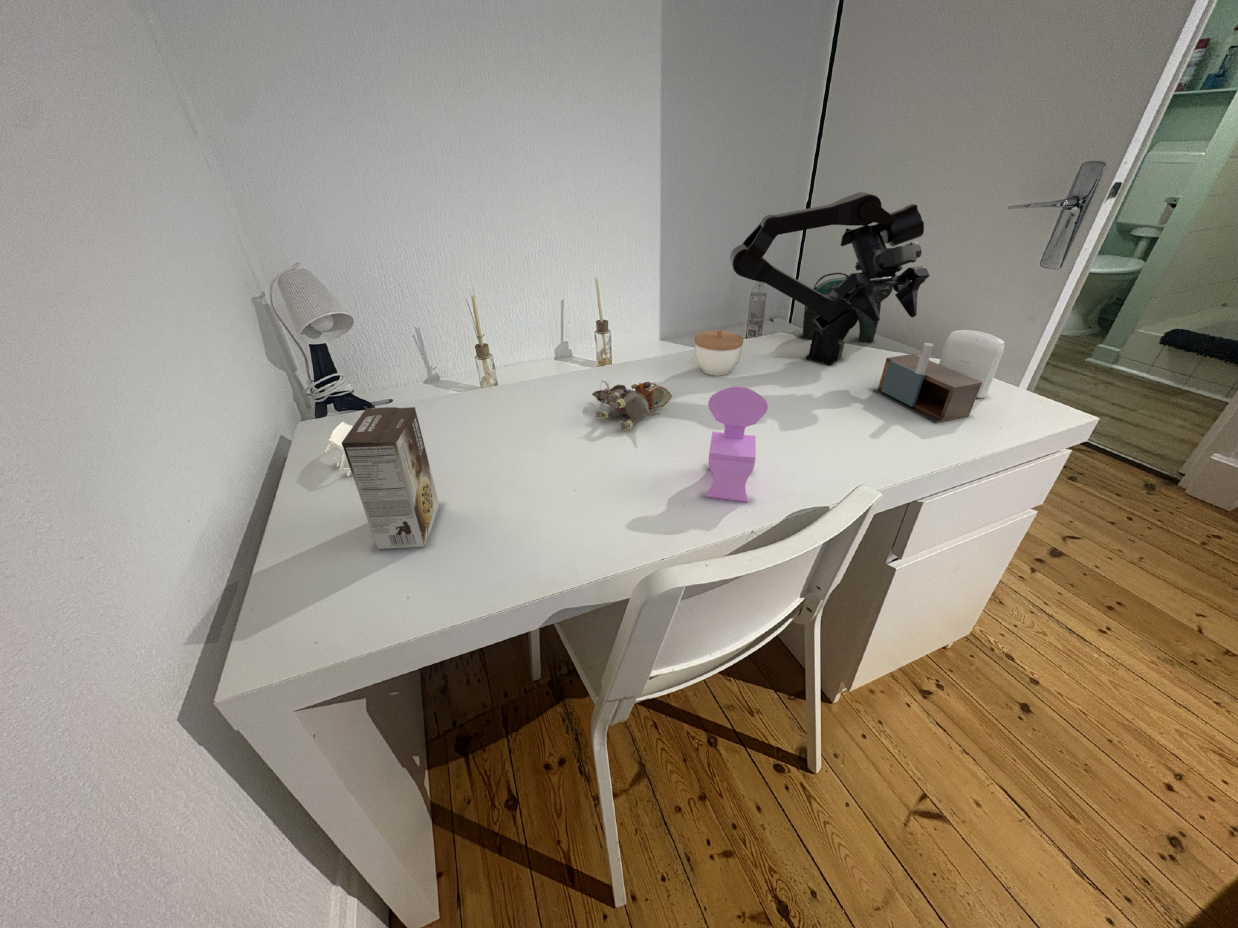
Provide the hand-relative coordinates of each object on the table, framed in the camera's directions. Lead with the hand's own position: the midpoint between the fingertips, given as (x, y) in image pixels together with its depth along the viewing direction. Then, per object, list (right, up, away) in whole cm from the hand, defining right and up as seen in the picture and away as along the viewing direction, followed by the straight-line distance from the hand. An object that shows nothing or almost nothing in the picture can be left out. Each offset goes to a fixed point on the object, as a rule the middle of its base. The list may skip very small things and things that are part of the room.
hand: (896, 319), depth 106 cm
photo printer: (+14, -15, +2) cm, 20 cm away
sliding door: (-1, -17, -3) cm, 17 cm away
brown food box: (-86, -39, -36) cm, 101 cm away
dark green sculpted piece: (+1, +3, +31) cm, 31 cm away
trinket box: (-35, -9, +12) cm, 38 cm away
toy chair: (-41, -33, -27) cm, 59 cm away
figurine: (-54, -20, -5) cm, 58 cm away
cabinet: (+3, -18, -3) cm, 18 cm away
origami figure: (-102, -29, -20) cm, 108 cm away
